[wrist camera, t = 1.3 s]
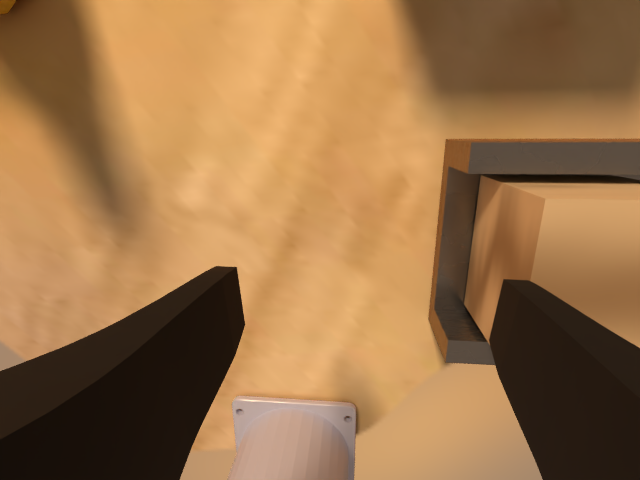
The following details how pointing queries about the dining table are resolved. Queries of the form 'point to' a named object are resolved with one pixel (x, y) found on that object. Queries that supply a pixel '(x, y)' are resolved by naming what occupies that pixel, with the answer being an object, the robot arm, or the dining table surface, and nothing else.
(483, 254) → the oak block
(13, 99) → the dining table surface
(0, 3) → the chocolate bunny
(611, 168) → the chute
